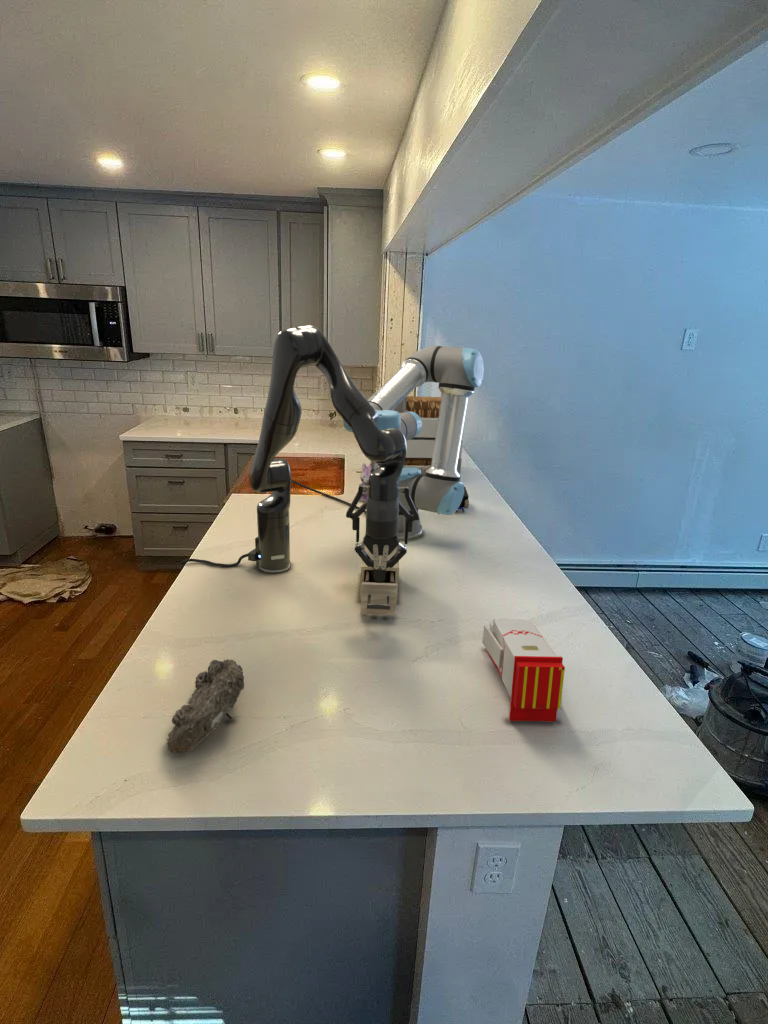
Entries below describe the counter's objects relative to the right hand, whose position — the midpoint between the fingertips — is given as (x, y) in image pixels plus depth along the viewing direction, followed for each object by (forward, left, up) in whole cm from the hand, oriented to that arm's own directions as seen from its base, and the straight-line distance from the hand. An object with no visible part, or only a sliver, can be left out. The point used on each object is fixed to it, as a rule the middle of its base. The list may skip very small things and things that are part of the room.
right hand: (381, 541), depth 160 cm
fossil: (+24, -63, -13) cm, 68 cm away
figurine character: (-31, +68, -13) cm, 76 cm away
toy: (+53, -6, -13) cm, 55 cm away
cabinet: (+3, -3, -13) cm, 13 cm away
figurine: (-60, +45, -13) cm, 76 cm away
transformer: (-77, +90, -13) cm, 120 cm away
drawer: (+12, -10, -12) cm, 20 cm away
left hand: (+18, -16, -1) cm, 24 cm away
